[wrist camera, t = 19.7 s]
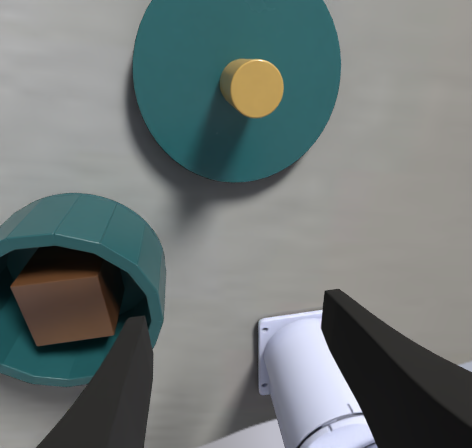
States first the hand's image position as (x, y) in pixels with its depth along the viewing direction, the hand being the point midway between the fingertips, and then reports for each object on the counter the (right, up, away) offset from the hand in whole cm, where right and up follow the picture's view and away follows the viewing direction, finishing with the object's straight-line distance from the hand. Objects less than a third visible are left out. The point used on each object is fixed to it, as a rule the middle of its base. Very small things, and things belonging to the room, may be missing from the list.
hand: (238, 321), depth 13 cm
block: (-10, +1, +9) cm, 14 cm away
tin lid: (0, +12, +5) cm, 13 cm away
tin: (-10, +1, +9) cm, 14 cm away
